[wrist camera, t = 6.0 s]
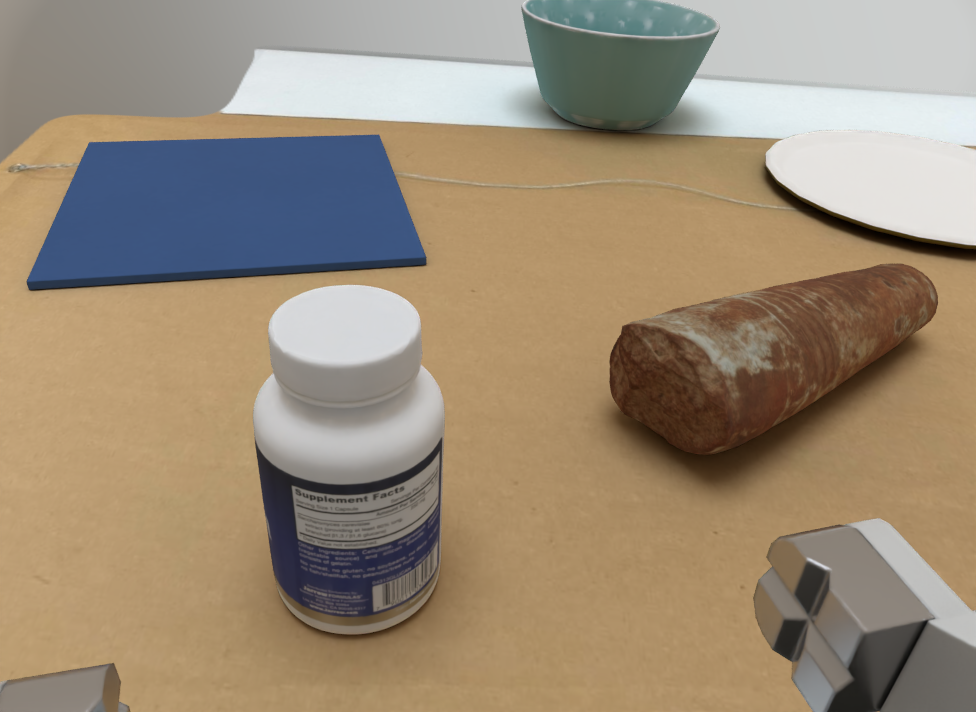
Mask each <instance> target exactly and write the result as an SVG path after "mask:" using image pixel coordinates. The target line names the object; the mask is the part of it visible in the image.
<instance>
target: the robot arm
mask: <svg viewBox="0 0 976 712" xmlns="http://www.w3.org/2000/svg"><path fill="white" fill-rule="evenodd" d="M766 557H767V559H768V560H769V562H770V564H771V565H772V567H771V568H770V569H769V570H768V571H767V572H766V573H765V574H764V575H763V576H762V577H761V578H760V579H759V580H758V583H757V586H756V590H755V593H754V597H753V599H754V607H755V615H756V619H757V622H758V624H759V627H760V629H761V632H762V634H763V636H764V637H765V639H766V640H767V642H768V643H769V645H770V647H771V648H772V650H774V651H775V652H777V653H779V654H780V655H782V656H783V657H785V658H787V659H788V660H790V661H792V680H793V682H794V683H795V685H796V686H797V688H798V689H799V691H800V692H801V694H802V695H803V697H804V698H805V700H806V702H807V703H808V705H809V706H810V708H811V709H812V711H813V712H877V711H880V712H976V610H973V611H971V610H970V609H969V608H968V607H967V605H966V604H965V603H964V602H963V601H962V600H961V599H960V598H959V597H958V596H957V595H956V594H955V593H954V592H953V590H952V589H951V588H950V587H949V586H948V585H947V584H946V583H945V582H944V581H943V580H942V579H941V578H940V577H939V576H938V574H937V573H936V572H935V571H934V570H933V569H932V568H931V567H930V566H929V565H928V564H927V563H926V562H925V561H924V560H923V558H922V557H921V556H920V555H919V554H918V553H917V552H916V551H915V550H914V549H913V548H912V547H911V546H910V545H909V543H908V542H907V541H906V540H905V539H904V538H903V537H902V536H901V535H900V534H899V533H898V532H897V531H896V530H895V529H894V527H893V526H892V525H890V524H889V523H887V522H885V521H883V520H881V519H880V518H878V519H871V520H865V521H860V522H855V523H850V524H846V525H835V526H830V527H825V528H820V529H815V530H810V531H805V532H800V533H796V534H791V535H786V536H781V537H779V538H777V539H776V540H775V541H774V542H773V543H771V546H770V548H769V551H768V554H767V556H766ZM120 685H121V681H120V678H119V675H118V673H117V670H116V668H115V665H114V663H112V664H105V665H99V666H93V667H87V668H81V669H75V670H68V671H62V672H56V673H50V674H44V675H38V676H32V677H25V678H19V679H13V680H7V681H1V682H0V712H130V708H129V706H127V705H125V704H123V703H121V702H119V696H120Z"/></svg>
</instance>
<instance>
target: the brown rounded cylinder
mask: <svg viewBox="0 0 976 712" xmlns="http://www.w3.org/2000/svg"><path fill="white" fill-rule="evenodd" d="M937 305H938V295H937V292H936V289H935V287H934V285H933V283H932V281H931V280H930V279H929V278H928V277H927V276H925V275H924V274H923V273H922V272H920V271H918V270H917V269H915V268H913V267H911V266H908V265H904V264H880V265H877V266H874V267H871V268H867V269H862V270H857V271H850V272H842V273H837V274H833V275H829V276H824V277H820V278H816V279H809V280H803V281H799V282H795V283H789V284H784V285H778V286H773V287H769V288H765V289H762V290H758V291H752V292H747V293H741V294H737V295H733V296H729V297H724V298H720V299H716V300H712V301H710V302H704V303H700V304H697V305H691V306H687V307H682V308H677V309H673V310H670V311H668V312H666V313H662V314H659V315H656V316H654V317H652V318H649V319H643V320H639V321H635V322H631V323H629V324H627V325H624V326H622V332H621V335H620V336H619V338H618V340H617V342H616V343H615V345H614V347H613V350H612V352H611V356H610V388H611V394H612V397H613V399H614V400H615V402H616V403H617V405H618V407H619V408H620V410H621V411H622V412H623V413H624V414H626V415H628V416H630V417H632V418H634V419H636V420H638V421H640V422H642V423H643V424H645V425H646V426H648V427H649V428H651V429H652V430H653V431H655V432H657V433H658V434H659V435H661V436H662V437H664V438H665V439H666V440H667V441H668V442H669V443H670V444H672V445H674V446H675V447H677V448H679V449H681V450H683V451H686V452H691V453H694V454H704V455H710V454H716V453H719V452H722V451H725V450H729V449H732V448H735V447H738V446H740V445H741V444H743V443H745V442H747V441H749V440H751V439H753V438H755V437H757V436H759V435H761V434H763V433H764V432H766V431H767V430H769V429H770V428H771V427H773V426H775V425H777V424H779V423H780V422H782V421H784V420H786V419H788V418H789V417H791V416H793V415H795V414H796V413H798V412H799V411H801V410H802V409H804V408H805V407H807V406H809V405H810V404H812V403H813V402H815V401H816V400H818V399H819V398H821V397H822V396H824V395H825V394H827V393H828V392H830V391H832V390H833V389H834V388H836V387H837V386H838V385H840V384H841V383H842V382H844V381H846V380H847V379H849V378H850V377H852V376H853V375H854V374H856V373H857V372H858V371H860V370H861V369H862V368H864V367H865V366H867V365H869V364H870V363H872V362H873V361H875V360H876V359H878V358H880V357H881V356H883V355H884V354H886V353H887V352H889V351H890V350H892V349H893V348H895V347H896V346H897V345H899V344H900V343H902V342H903V341H904V340H905V339H907V338H908V337H909V336H910V335H912V334H913V333H915V332H916V331H918V330H919V329H921V328H922V327H923V326H925V325H926V324H927V323H928V322H929V321H931V319H932V318H933V316H934V315H935V313H936V309H937Z"/></svg>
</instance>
